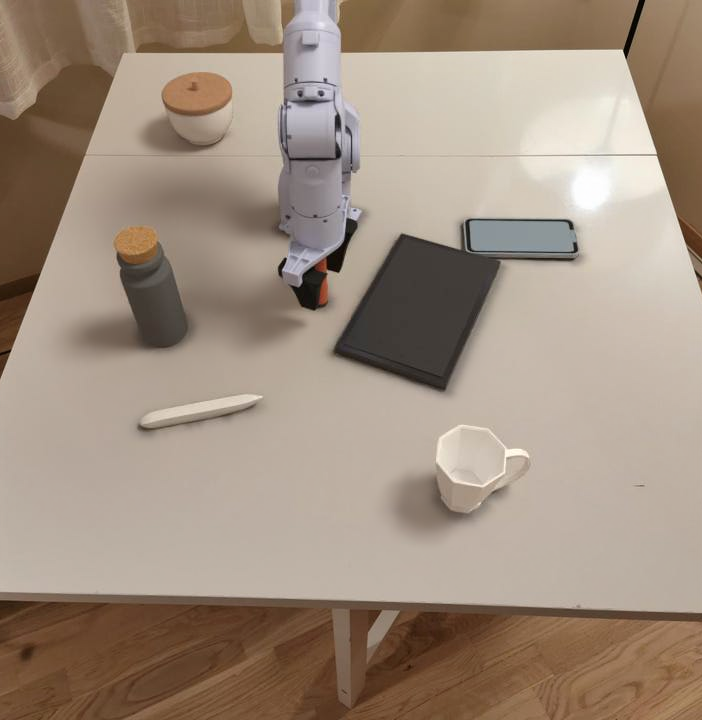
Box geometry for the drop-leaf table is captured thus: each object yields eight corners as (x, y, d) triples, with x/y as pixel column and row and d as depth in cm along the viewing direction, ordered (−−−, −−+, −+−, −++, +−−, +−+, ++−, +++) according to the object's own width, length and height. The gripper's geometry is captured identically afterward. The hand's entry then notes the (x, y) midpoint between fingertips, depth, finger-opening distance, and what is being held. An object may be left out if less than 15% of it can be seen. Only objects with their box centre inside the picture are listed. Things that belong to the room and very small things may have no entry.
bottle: (196, 318, 89) (172, 227, 77) (175, 353, 86) (146, 263, 74) (155, 308, 90) (125, 217, 78) (132, 341, 87) (97, 251, 75)
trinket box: (209, 107, 118) (199, 54, 111) (251, 132, 114) (244, 78, 106) (158, 135, 114) (144, 81, 106) (200, 163, 109) (188, 108, 102)
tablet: (334, 353, 85) (334, 346, 84) (400, 239, 97) (401, 232, 96) (445, 391, 81) (446, 384, 80) (499, 267, 93) (501, 260, 92)
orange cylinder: (309, 305, 90) (306, 259, 84) (316, 294, 91) (313, 248, 85) (323, 309, 89) (321, 264, 83) (330, 299, 91) (328, 253, 84)
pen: (265, 408, 80) (264, 400, 79) (141, 432, 79) (137, 424, 77) (263, 397, 81) (261, 389, 80) (140, 420, 80) (137, 412, 78)
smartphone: (463, 217, 99) (573, 218, 97) (462, 222, 99) (571, 223, 98) (465, 253, 94) (580, 254, 93) (465, 258, 95) (579, 260, 94)
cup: (419, 470, 75) (425, 429, 68) (509, 454, 76) (524, 412, 69) (437, 531, 71) (445, 493, 64) (533, 513, 72) (550, 474, 65)
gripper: (311, 155, 83) (316, 242, 93) (252, 232, 75) (265, 318, 85) (367, 170, 81) (366, 257, 91) (312, 250, 73) (318, 335, 83)
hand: (321, 287), depth 88 cm, fingers open, 6 cm apart
